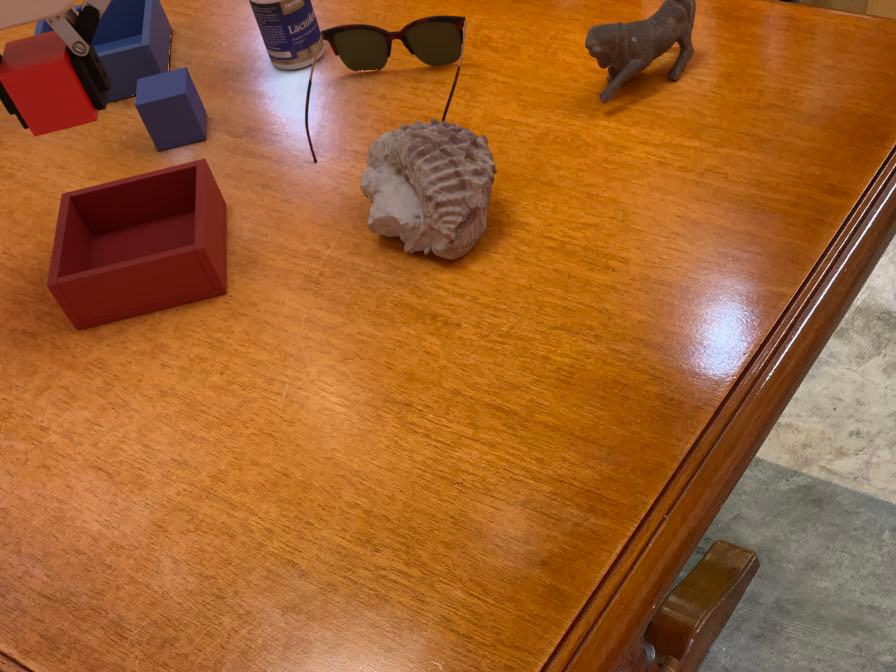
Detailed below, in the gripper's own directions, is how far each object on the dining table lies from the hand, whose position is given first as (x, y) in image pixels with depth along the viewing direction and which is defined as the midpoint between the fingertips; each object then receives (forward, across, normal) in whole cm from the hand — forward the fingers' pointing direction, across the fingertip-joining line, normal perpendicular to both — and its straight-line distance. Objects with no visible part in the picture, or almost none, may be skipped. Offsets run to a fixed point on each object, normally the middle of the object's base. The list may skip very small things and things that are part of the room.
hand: (66, 107), depth 77 cm
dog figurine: (+14, -45, -9) cm, 48 cm away
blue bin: (+14, +6, -34) cm, 37 cm away
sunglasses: (+14, -23, -14) cm, 30 cm away
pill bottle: (+14, -14, -28) cm, 34 cm away
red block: (0, 0, 0) cm, 0 cm away
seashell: (+14, -24, +4) cm, 29 cm away
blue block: (+14, -2, -19) cm, 24 cm away
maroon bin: (+14, 0, +1) cm, 14 cm away
